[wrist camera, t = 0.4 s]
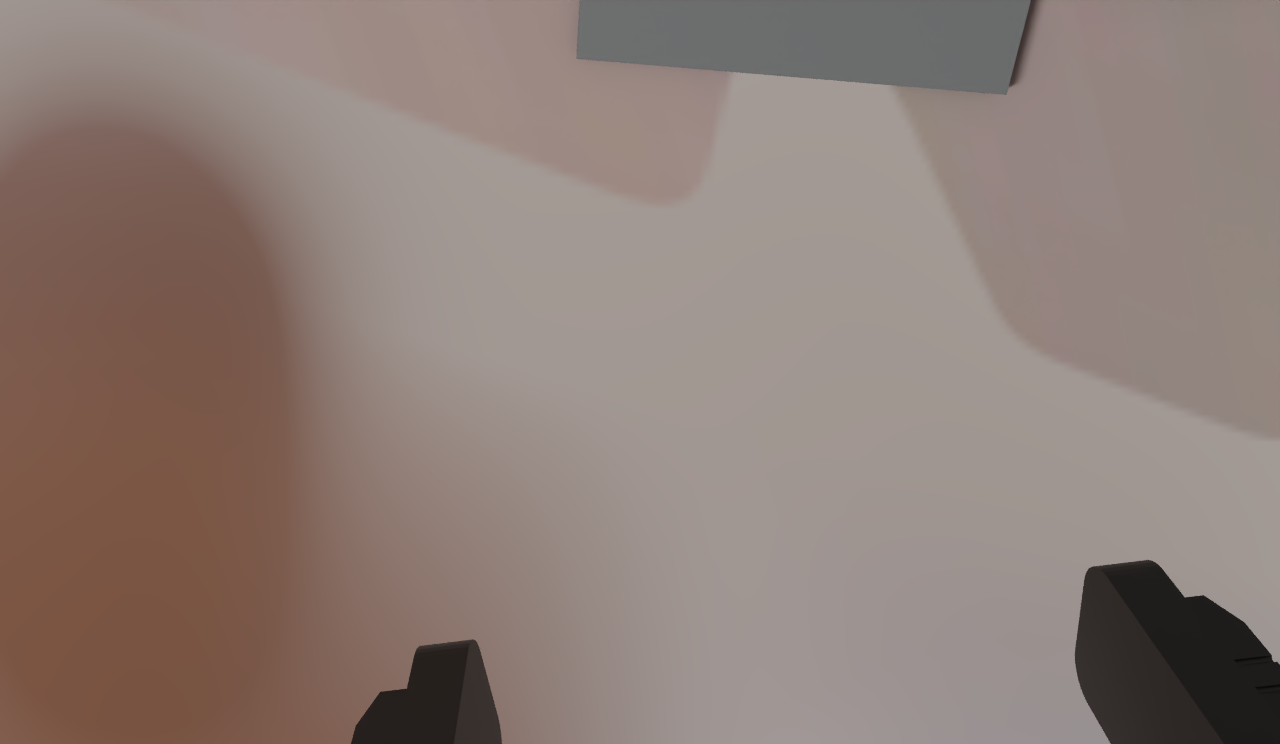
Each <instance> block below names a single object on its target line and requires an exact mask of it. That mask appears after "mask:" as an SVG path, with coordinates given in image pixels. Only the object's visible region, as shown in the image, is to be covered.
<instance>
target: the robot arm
mask: <svg viewBox="0 0 1280 744" xmlns="http://www.w3.org/2000/svg"><path fill="white" fill-rule="evenodd" d="M1075 664H1076V670H1077V675H1078V680H1079V683H1080V687H1081V689H1082V692H1083V695H1084V697H1085V699H1086V701H1087V703H1088V705H1089V706H1090V708H1091V710H1092V712H1093V713H1094V715H1095V717H1096V719H1097V720H1098V722H1099V724H1100V726H1101V727H1102V729H1103V731H1104V732H1105V734H1106V736H1107V738H1108V739H1109V741H1110V743H1111V744H1280V665H1279V664H1278V662H1273V660H1272V655H1271V654H1270V653H1269V651H1268V650H1267V649H1266V648H1265V647H1264V646H1263V644H1262V643H1261V642H1260V641H1259V639H1258V638H1257V637H1256V636H1255V635H1254V634H1253V632H1252V631H1251V630H1250V629H1249V628H1248V626H1247V625H1246V624H1245V623H1244V622H1243V621H1241V620H1240V619H1238V618H1237V617H1235V616H1234V615H1232V614H1231V613H1229V612H1228V611H1226V610H1225V609H1223V608H1222V607H1220V606H1219V605H1217V604H1216V603H1214V602H1213V601H1211V600H1210V599H1208V598H1207V597H1205V596H1204V595H1203V596H1194V597H1186V598H1185V597H1184V596H1183V595H1182V594H1181V592H1180V591H1179V590H1178V588H1177V587H1176V586H1175V585H1174V583H1173V582H1172V581H1171V579H1170V578H1169V577H1168V576H1167V575H1166V573H1165V572H1164V571H1163V569H1162V568H1161V567H1160V566H1159V565H1158V564H1156V563H1155V562H1153V561H1151V560H1144V561H1136V562H1128V563H1120V564H1111V565H1103V566H1094V567H1091V568H1089V569H1088V571H1087V573H1086V575H1085V580H1084V586H1083V594H1082V602H1081V610H1080V618H1079V625H1078V633H1077V640H1076V648H1075ZM351 744H502V739H501V730H500V724H499V719H498V715H497V711H496V708H495V704H494V700H493V696H492V693H491V689H490V685H489V682H488V678H487V674H486V670H485V667H484V663H483V659H482V656H481V652H480V649H479V646H478V644H477V642H476V641H475V640H466V641H458V642H449V643H442V644H433V645H424V646H419V647H418V648H417V650H416V652H415V655H414V659H413V664H412V669H411V673H410V677H409V682H408V687H407V689H401V690H392V691H385V692H380V693H379V695H378V696H377V697H376V699H375V700H374V702H373V703H372V704H371V706H370V707H369V708H368V710H367V711H366V712H365V714H364V715H363V717H362V718H361V719H360V721H359V722H358V724H357V725H356V727H355V731H354V735H353V739H352V742H351Z"/></svg>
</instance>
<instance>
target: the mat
mask: <svg viewBox="0 0 1280 744" xmlns="http://www.w3.org/2000/svg"><path fill="white" fill-rule="evenodd" d="M1030 2H1031V0H580V6H579V24H578V42H577V59H585V60H597V61H609V62H621V63H633V64H645V65H657V66H669V67H681V68H693V69H705V70H717V71H729V72H741V73H753V74H765V75H777V76H789V77H801V78H813V79H825V80H837V81H848V82H849V81H850V82H861V83H872V84H884V85H896V86H908V87H920V88H932V89H944V90H956V91H968V92H980V93H992V94H1004V95H1007V91H1008V87H1009V83H1010V79H1011V76H1012V72H1013V68H1014V64H1015V60H1016V56H1017V52H1018V48H1019V44H1020V41H1021V37H1022V33H1023V29H1024V25H1025V21H1026V17H1027V13H1028V10H1029V6H1030Z"/></svg>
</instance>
